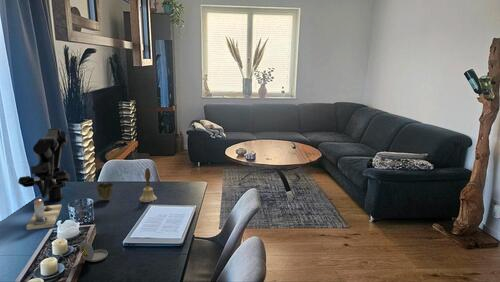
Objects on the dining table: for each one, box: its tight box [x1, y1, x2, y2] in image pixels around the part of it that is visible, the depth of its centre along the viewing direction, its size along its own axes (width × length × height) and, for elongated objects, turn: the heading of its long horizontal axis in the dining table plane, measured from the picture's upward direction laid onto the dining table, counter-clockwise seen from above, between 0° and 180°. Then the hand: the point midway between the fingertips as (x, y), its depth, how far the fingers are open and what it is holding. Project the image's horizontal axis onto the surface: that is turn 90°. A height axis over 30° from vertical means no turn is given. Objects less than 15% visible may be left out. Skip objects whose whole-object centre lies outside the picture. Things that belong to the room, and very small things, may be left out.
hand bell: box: [138, 167, 158, 203], centre depth 162 cm, size 8×8×16 cm
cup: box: [96, 181, 114, 202], centre depth 160 cm, size 8×7×8 cm
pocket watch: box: [79, 234, 109, 263], centre depth 111 cm, size 8×8×10 cm
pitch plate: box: [26, 204, 63, 231], centre depth 140 cm, size 20×9×3 cm, turn 20°
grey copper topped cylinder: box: [33, 198, 48, 225], centre depth 132 cm, size 4×4×10 cm
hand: (43, 197), depth 139 cm, fingers closed
